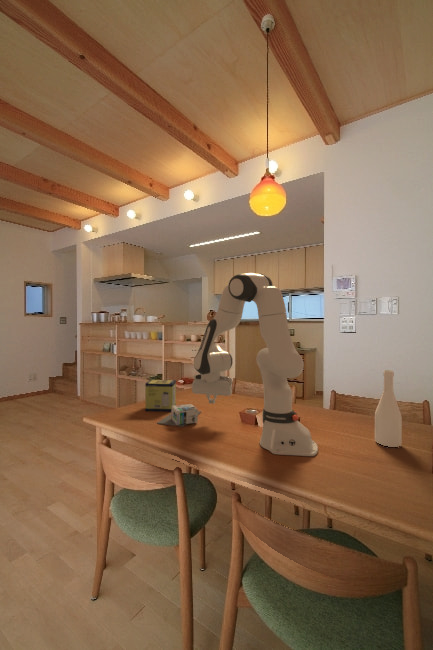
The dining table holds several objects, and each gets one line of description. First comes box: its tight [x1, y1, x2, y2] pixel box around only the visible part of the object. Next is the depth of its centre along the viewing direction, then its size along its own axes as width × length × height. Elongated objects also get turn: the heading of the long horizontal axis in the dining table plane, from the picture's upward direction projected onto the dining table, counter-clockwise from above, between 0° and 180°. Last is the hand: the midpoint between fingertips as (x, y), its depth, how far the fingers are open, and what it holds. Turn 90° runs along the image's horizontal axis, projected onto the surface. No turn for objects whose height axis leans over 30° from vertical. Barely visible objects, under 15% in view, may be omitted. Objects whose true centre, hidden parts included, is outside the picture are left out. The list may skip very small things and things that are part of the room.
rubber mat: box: [156, 410, 202, 428], centre depth 152 cm, size 14×24×1 cm, turn 163°
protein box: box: [144, 379, 177, 413], centre depth 168 cm, size 10×16×16 cm
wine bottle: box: [374, 369, 403, 448], centre depth 121 cm, size 10×10×30 cm
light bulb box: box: [170, 403, 199, 425], centre depth 146 cm, size 11×7×11 cm
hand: (211, 403), depth 148 cm, fingers closed
